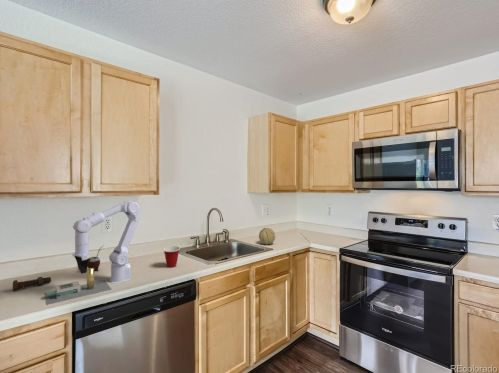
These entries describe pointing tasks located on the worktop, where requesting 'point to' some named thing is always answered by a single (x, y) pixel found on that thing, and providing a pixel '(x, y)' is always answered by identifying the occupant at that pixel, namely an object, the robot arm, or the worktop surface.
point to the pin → (90, 278)
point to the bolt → (30, 283)
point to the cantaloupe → (267, 236)
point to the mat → (98, 287)
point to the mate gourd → (94, 262)
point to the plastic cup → (171, 255)
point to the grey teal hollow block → (66, 290)
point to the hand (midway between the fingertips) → (82, 271)
